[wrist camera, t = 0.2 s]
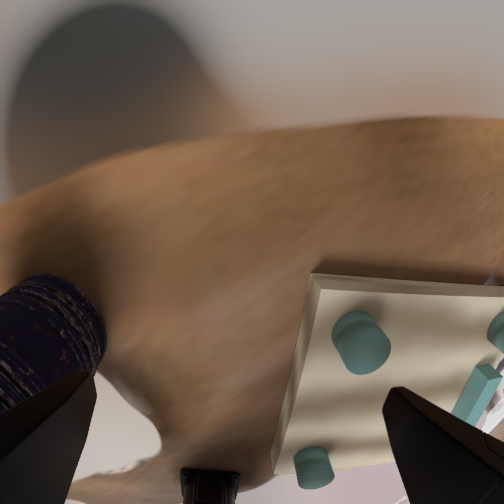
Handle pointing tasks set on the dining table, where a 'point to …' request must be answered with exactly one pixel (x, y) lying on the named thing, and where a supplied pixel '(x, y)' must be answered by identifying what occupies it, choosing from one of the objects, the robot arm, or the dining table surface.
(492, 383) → the teal rectangular bar
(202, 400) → the dining table surface
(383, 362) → the stool seat
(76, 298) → the storage jar
